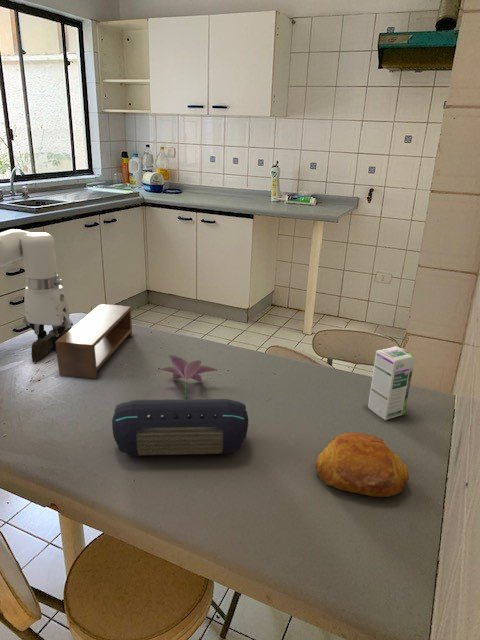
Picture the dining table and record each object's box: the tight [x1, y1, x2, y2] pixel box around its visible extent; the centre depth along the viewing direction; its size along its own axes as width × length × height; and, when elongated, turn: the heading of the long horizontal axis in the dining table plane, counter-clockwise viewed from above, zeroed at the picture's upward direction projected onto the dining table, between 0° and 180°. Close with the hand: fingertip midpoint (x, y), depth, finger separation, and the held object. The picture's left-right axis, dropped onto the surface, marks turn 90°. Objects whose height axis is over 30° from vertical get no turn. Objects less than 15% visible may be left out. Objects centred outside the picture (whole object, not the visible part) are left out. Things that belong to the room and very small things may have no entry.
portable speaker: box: [111, 398, 249, 456], centre depth 86 cm, size 25×10×10 cm, turn 95°
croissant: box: [314, 431, 410, 498], centre depth 82 cm, size 14×16×8 cm
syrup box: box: [367, 345, 416, 421], centre depth 100 cm, size 6×6×14 cm
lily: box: [159, 354, 218, 399], centre depth 106 cm, size 12×12×10 cm
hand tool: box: [30, 321, 73, 363], centre depth 124 cm, size 19×4×5 cm, turn 172°
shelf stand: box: [55, 303, 133, 380], centre depth 121 cm, size 9×26×9 cm, turn 173°
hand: (50, 346), depth 125 cm, fingers closed on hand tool, 3 cm apart
